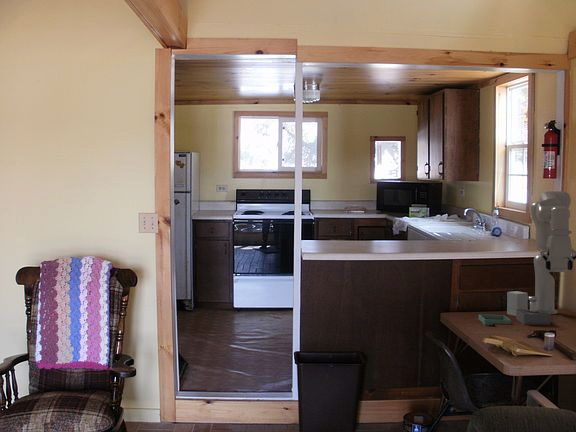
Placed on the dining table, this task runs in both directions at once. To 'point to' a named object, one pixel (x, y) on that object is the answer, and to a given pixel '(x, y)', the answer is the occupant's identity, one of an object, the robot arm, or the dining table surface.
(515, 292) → the supplement box
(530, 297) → the pin
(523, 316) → the socket block
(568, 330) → the dining table surface
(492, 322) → the tray
